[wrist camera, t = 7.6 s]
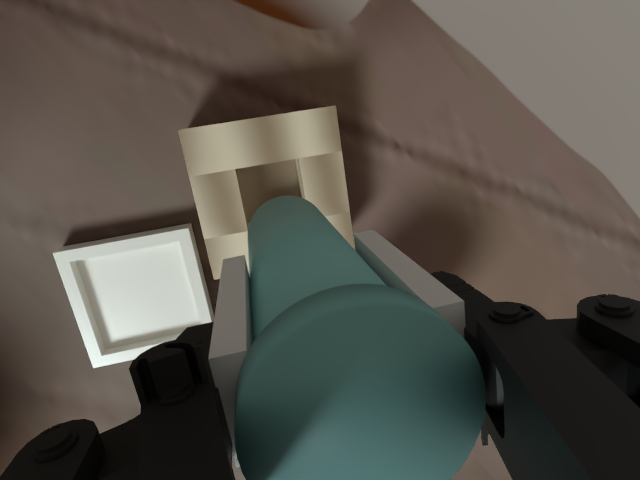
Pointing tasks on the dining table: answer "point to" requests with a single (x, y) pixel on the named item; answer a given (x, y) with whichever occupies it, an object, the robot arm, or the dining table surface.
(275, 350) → the plug
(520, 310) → the robot arm
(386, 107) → the dining table surface
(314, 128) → the beige socket block
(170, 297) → the tray
